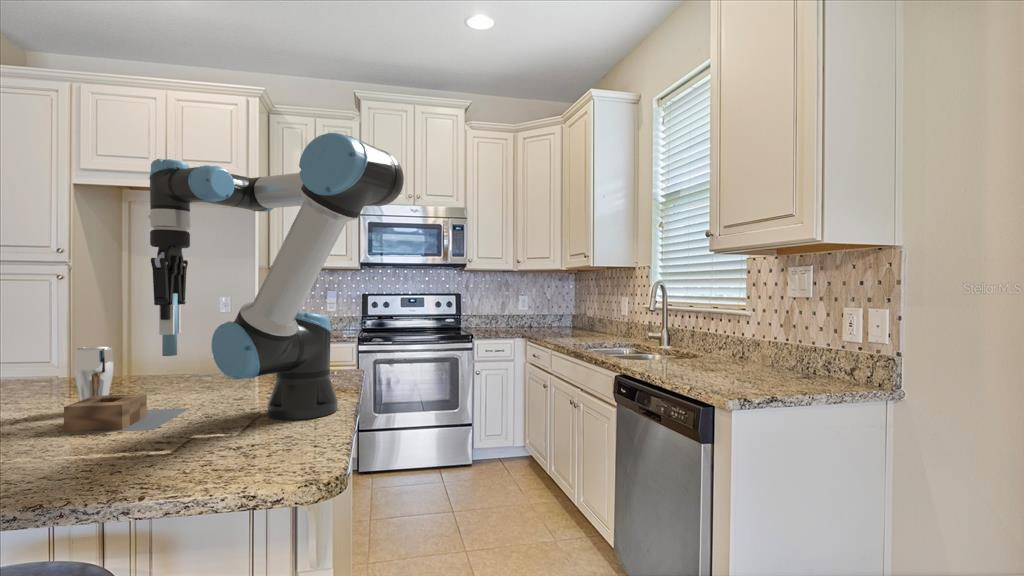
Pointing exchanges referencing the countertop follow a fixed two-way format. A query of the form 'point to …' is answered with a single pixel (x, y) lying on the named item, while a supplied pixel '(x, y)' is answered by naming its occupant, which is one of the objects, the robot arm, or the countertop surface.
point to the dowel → (171, 340)
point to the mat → (147, 420)
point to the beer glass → (93, 371)
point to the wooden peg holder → (105, 413)
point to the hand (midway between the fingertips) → (170, 333)
